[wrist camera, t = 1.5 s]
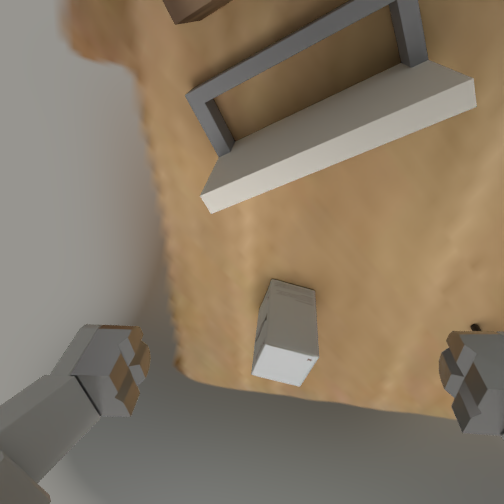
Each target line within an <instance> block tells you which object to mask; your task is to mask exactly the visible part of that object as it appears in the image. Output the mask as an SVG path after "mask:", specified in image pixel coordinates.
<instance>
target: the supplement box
mask: <svg viewBox="0 0 504 504" xmlns="http://www.w3.org/2000/svg"><path fill="white" fill-rule="evenodd" d="M318 358H319V346H318V331H317V315H316V299H315V291H314V290H311V289H307V288H304V287H300V286H296V285H293V284H289V283H286V282H282V281H279V280H274V279H272V280H271V282H270V285H269V288H268V290H267V293H266V295H265V298H264V300H263V302H262V304H261V307H260V309H259V315H258V323H257V330H256V338H255V347H254V356H253V364H252V373H251V374H252V375H255V376H258V377H262V378H267V379H271V380H275V381H279V382H283V383H287V384H292V385H295V386H301V384H302V383H303V381H304V380H305V378H306V376H307V375H308V373H309V372H310V371H311V369H312V367H313V366H314V364H315V363H316V361H317V360H318Z"/></svg>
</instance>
